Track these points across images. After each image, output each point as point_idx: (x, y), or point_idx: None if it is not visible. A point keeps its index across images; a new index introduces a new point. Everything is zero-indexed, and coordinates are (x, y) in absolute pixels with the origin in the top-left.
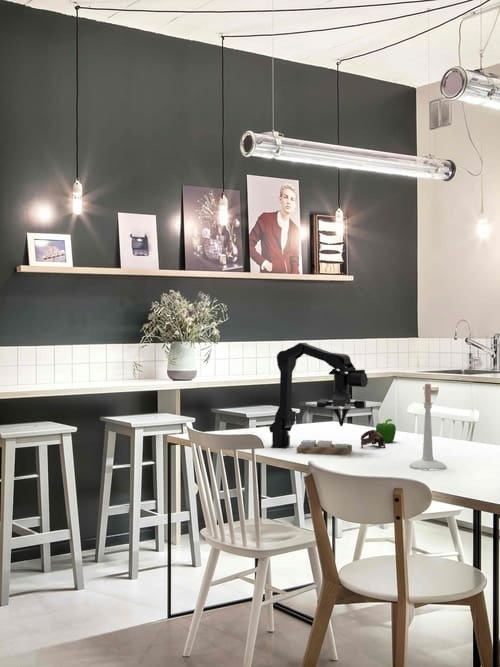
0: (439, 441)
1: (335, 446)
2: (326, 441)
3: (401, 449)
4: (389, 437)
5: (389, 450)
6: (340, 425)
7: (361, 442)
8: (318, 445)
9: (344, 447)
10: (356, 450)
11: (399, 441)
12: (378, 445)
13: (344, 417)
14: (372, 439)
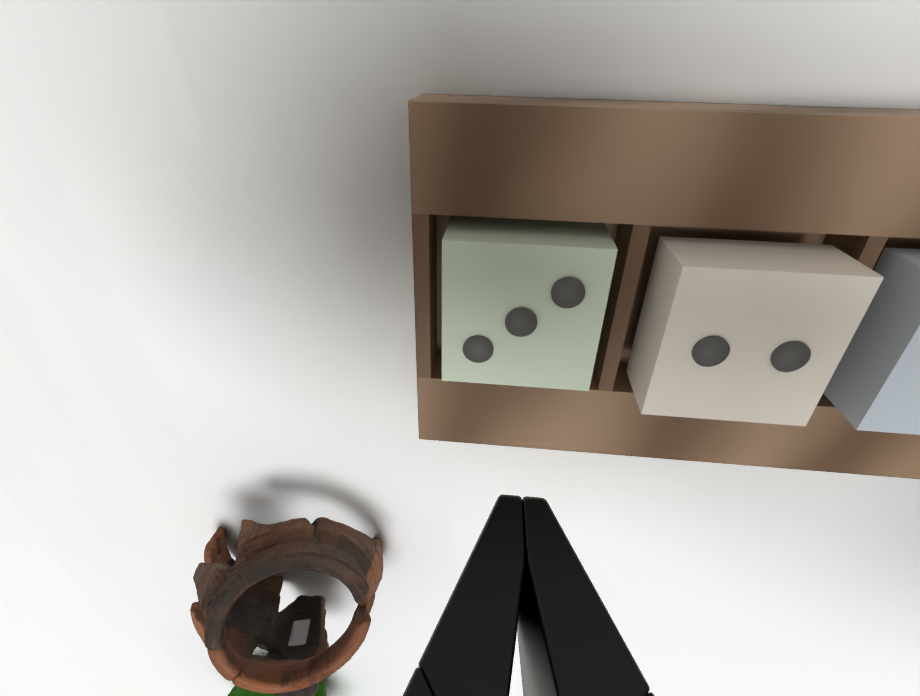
0: (56, 690)
1: (592, 243)
2: (727, 342)
3: (92, 492)
4: (240, 690)
5: (147, 448)
6: (539, 503)
7: (368, 560)
8: (837, 257)
9: (471, 232)
10: (392, 422)
11: (230, 690)
12: (280, 582)
13: (409, 684)
14: (250, 550)
